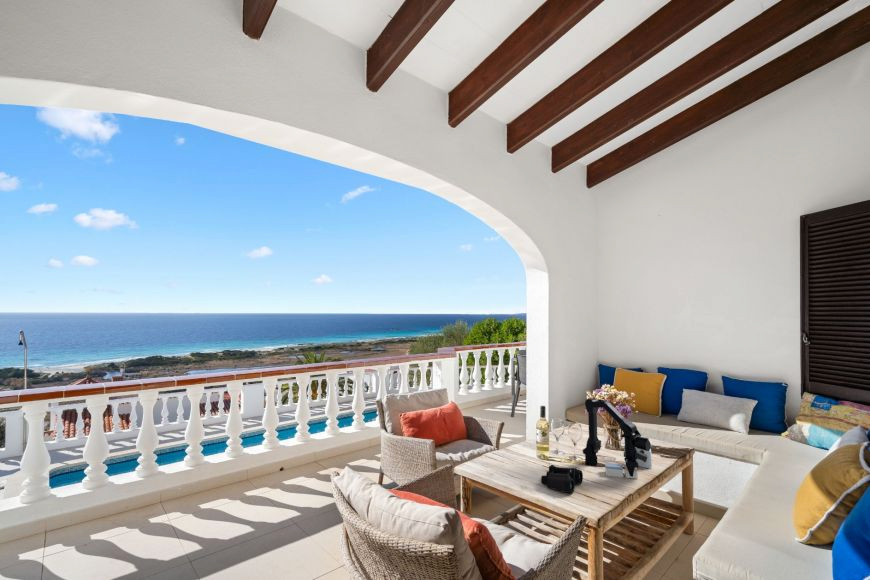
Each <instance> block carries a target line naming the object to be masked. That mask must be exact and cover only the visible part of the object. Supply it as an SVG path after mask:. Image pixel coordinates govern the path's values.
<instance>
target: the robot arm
mask: <svg viewBox="0 0 870 580" xmlns="http://www.w3.org/2000/svg"><path fill="white" fill-rule="evenodd" d="M584 405H585V409H586V411H587V413H588V416H587V417H588V419H587V420H588V438H587V441H586V446H585V447H584V448H583V449H582V453H583V455H584V457H585V458H584V459H585V464H584V465H586V466H595V467H597V466H598V456H597V454H598V453H599V451H600V450H601V448H602V440H601V439H599V438H598V416H597V415H598V411H599V409H600V408H603V409H604V410H605V411H606V412H607V413H608V415H609V416H610V417H611V418H613V420H615V422H617V424H618V426H619V428H620V430H621V432H622V434H621V435H620V438H624V440H623V441H624V452H623V457H624V458H623V459H624V461H625V463H624V464H625V465H626V467H627V469H628V471H629V474H630V476H631V477H633V473H634V469H635V468H637V469H638V468H639V466H638V462H637V461H636V460H637V458H638V459H639V460H642V461H643V462H646V460H647V458H648V457H647V455H646V454H645V453H644V451H643V450H645V451H649V450H650V449H651V447H652V444H651V441H650V440H649V437H644V436H642V434H641V433H640V432H639V430H638V428H637V425H636V423H635V424H634V423H633V422H632V421H631V420H629V419H626V417H624V416H623V415H622V414H621V413H620V412H619V411H618V410H617V409H616V408H615V407H614V406H613V405H612V403H610V401H609V400H607V399H606V400H605V399H597V398H596V397H591V398H587V399H586V400H585V401H584ZM636 447H637V448H638V449H641V450H640V451H637V450H636Z"/></svg>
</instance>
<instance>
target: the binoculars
mask: <svg viewBox="0 0 870 580" xmlns="http://www.w3.org/2000/svg"><path fill="white" fill-rule="evenodd" d="M583 479H584V474H583V471H582V470H581V469H577V468H576V467H560V466H555V465H554V464H551V465H548V471H546V473H545V475H542V476H541V477H540V481H541V484H543V485H545V486H546V487H547V488H548V489H553V490H556V491H560V492H563V493H567V494H573V493H574V492H575V488H576V487H575V485H576V484H579V485H580V484H583Z"/></svg>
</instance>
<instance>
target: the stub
mask: <svg viewBox="0 0 870 580" xmlns="http://www.w3.org/2000/svg"><path fill="white" fill-rule="evenodd" d="M624 475H625V478H628V479H636V480H638V479H639V476H638V475H639V473H638V468H635V469H634V473H633V477H631V476H630V474H629V471H628V469H627V467H626V464H625V465H624Z"/></svg>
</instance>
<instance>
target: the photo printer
mask: <svg viewBox="0 0 870 580" xmlns="http://www.w3.org/2000/svg"><path fill="white" fill-rule="evenodd" d="M636 450H637V451H640V450H641V449H638V448H637V447H636ZM643 451H644V453H645V454H646V455H647V457H648V458H647V460H646V462H643V461H642V460H639V459H638V458H637V460H636V461H637V462H638V467H642V468H646V469H649V470H651V469H652V468H653V466H652V465H653V464H652V463H653V462H652V461H653V460H652V457H653V456H652V449H651V448H650V450H649V451H645V450H643Z"/></svg>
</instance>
